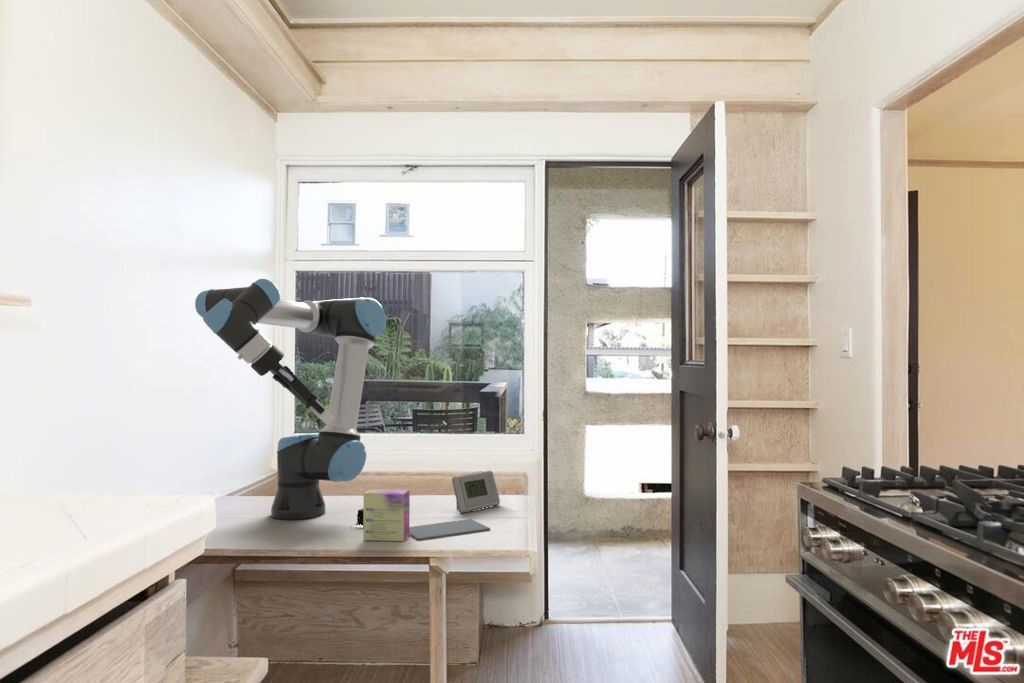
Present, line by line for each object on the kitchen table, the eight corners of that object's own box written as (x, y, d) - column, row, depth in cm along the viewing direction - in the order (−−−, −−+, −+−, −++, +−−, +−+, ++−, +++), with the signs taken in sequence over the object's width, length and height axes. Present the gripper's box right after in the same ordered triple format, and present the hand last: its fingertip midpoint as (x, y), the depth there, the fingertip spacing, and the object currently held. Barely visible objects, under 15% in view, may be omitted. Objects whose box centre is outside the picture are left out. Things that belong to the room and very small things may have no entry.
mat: (401, 529, 175) (401, 527, 175) (470, 520, 184) (470, 518, 184) (417, 540, 164) (417, 538, 164) (490, 530, 174) (490, 528, 174)
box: (410, 535, 169) (409, 489, 169) (404, 541, 163) (403, 493, 163) (370, 535, 170) (370, 488, 170) (363, 541, 164) (362, 493, 164)
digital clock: (459, 515, 191) (459, 478, 192) (444, 509, 199) (444, 473, 199) (506, 507, 200) (506, 472, 201) (490, 502, 208) (490, 468, 208)
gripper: (246, 365, 164) (314, 429, 171) (253, 365, 153) (326, 434, 160) (268, 344, 167) (335, 408, 174) (277, 342, 155) (348, 411, 163)
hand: (330, 420), depth 167 cm, fingers closed
